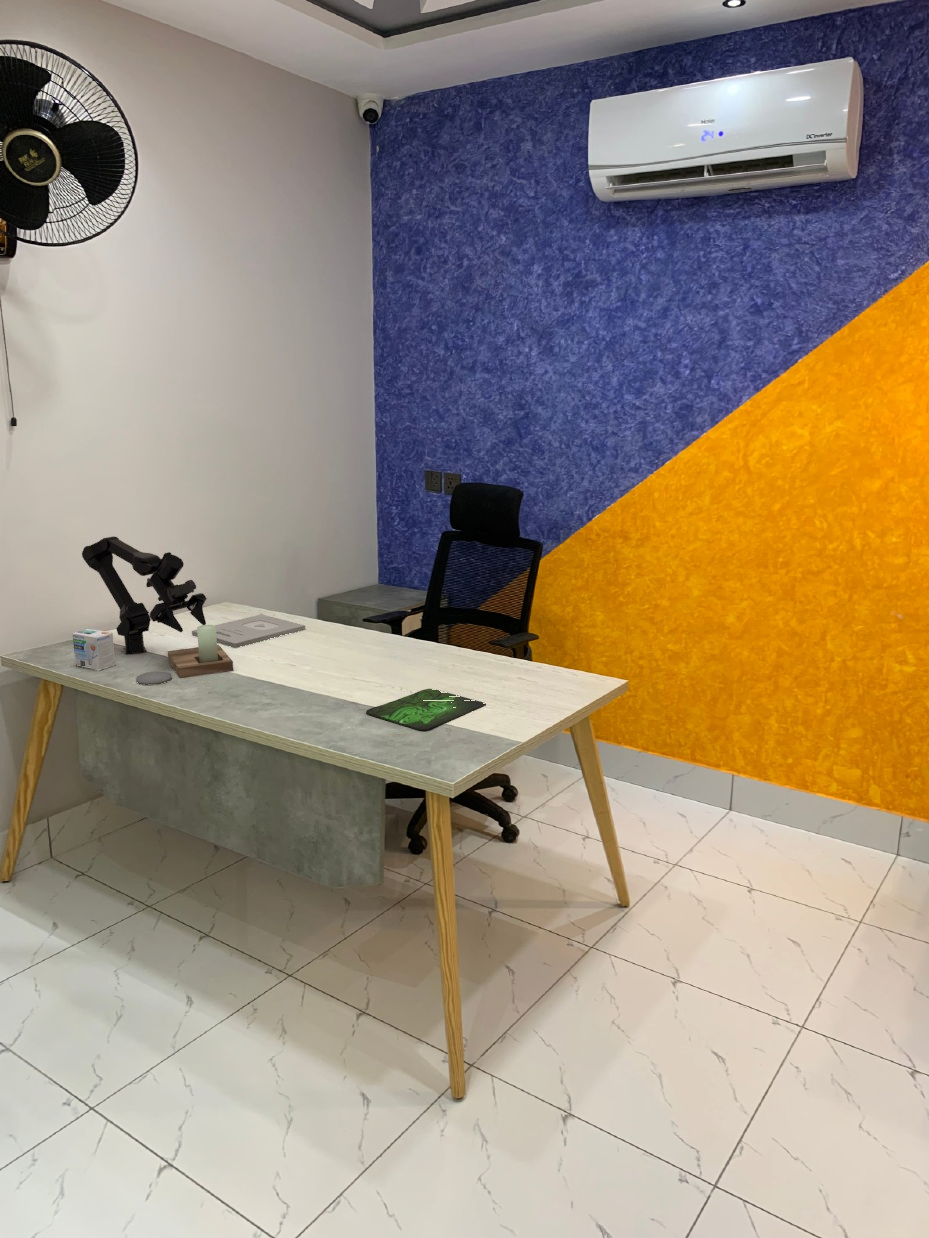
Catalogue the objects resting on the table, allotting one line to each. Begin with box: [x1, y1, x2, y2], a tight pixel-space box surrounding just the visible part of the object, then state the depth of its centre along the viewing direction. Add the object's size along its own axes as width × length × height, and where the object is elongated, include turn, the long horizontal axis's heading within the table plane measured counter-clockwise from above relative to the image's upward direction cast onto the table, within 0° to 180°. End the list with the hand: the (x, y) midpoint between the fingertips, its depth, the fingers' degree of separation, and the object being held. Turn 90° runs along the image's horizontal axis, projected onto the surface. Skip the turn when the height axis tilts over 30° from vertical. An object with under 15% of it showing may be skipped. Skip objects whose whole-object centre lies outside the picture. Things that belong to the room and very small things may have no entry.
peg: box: [196, 624, 218, 663], centre depth 280 cm, size 6×6×13 cm
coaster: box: [135, 671, 173, 686], centre depth 270 cm, size 10×10×1 cm
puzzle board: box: [166, 644, 234, 679], centre depth 284 cm, size 20×16×3 cm
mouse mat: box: [365, 688, 487, 732], centre depth 246 cm, size 27×22×1 cm
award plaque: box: [191, 614, 306, 649], centre depth 321 cm, size 25×30×2 cm
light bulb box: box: [72, 628, 116, 670], centre depth 282 cm, size 11×7×11 cm, turn 62°
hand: (193, 628), depth 281 cm, fingers open, 9 cm apart
